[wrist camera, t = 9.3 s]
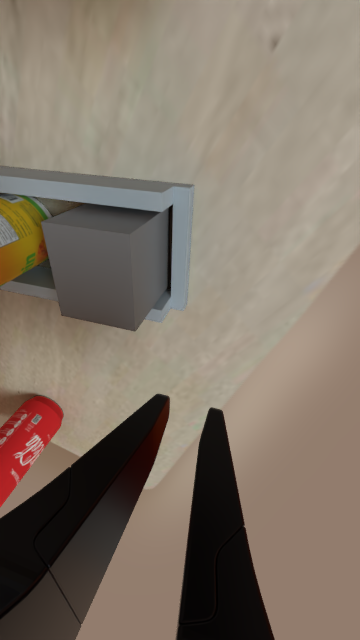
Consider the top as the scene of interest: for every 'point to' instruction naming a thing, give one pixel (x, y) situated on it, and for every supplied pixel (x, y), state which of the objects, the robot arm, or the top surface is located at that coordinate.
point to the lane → (110, 194)
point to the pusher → (108, 262)
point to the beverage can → (26, 439)
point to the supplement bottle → (21, 235)
